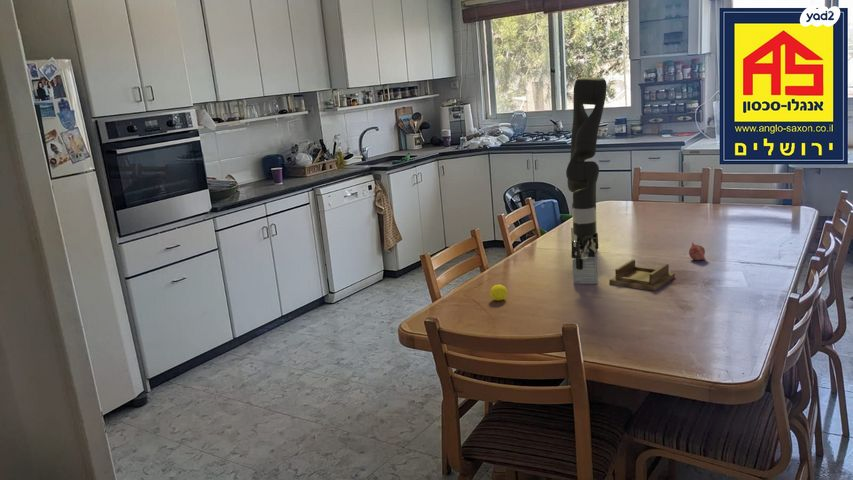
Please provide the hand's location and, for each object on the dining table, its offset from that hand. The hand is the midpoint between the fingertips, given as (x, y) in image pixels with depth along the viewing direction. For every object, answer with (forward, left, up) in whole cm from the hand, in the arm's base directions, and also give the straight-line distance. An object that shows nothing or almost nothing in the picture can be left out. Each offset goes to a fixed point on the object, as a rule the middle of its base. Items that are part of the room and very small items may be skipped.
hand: (585, 266), depth 229 cm
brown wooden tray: (+16, +10, -6) cm, 20 cm away
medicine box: (0, 0, -6) cm, 6 cm away
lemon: (-16, -29, -6) cm, 34 cm away
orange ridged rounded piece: (+23, +41, -6) cm, 47 cm away
